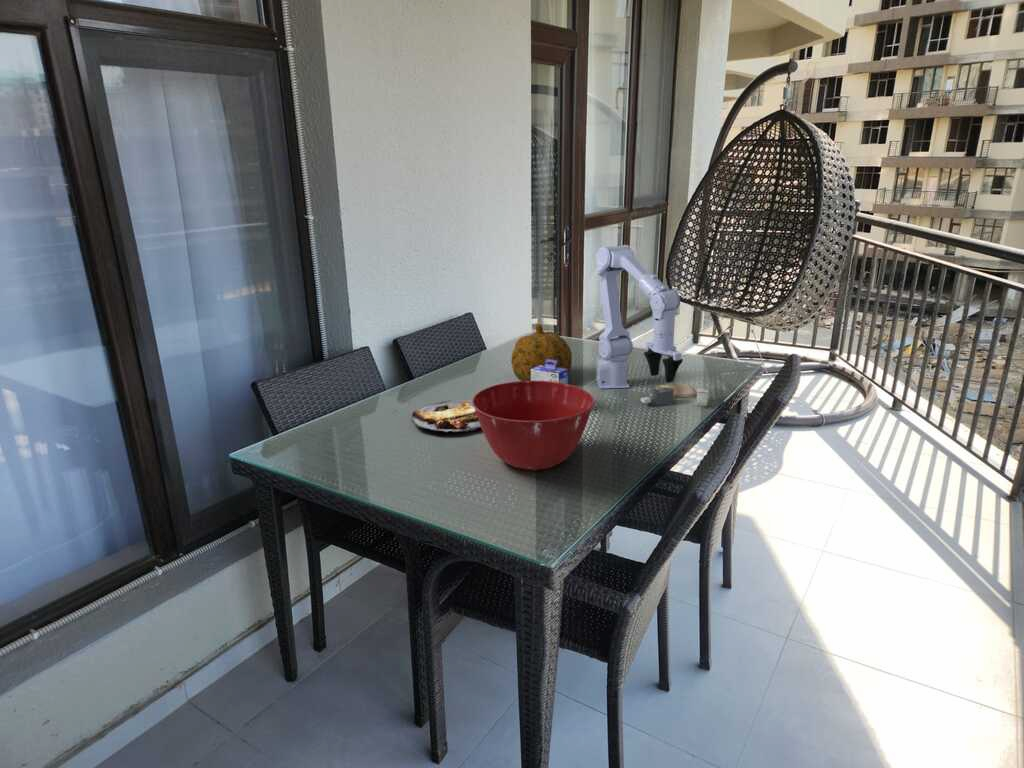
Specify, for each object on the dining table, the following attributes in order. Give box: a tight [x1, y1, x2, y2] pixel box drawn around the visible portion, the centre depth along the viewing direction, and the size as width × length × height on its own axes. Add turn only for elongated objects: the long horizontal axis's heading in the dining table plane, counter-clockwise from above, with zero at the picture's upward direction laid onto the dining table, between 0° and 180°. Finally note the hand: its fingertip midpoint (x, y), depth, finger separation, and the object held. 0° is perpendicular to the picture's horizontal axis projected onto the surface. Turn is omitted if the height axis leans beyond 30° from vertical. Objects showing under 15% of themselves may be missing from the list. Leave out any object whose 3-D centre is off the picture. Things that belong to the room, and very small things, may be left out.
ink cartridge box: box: [531, 359, 569, 384], centre depth 186 cm, size 10×6×14 cm, turn 55°
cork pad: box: [655, 383, 697, 399], centre depth 198 cm, size 10×10×1 cm
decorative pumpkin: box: [510, 323, 573, 381], centre depth 212 cm, size 20×21×20 cm
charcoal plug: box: [640, 388, 675, 407], centre depth 189 cm, size 10×3×4 cm, turn 112°
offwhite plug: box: [695, 387, 709, 408], centre depth 188 cm, size 9×3×4 cm, turn 167°
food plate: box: [410, 399, 482, 434], centre depth 180 cm, size 25×23×4 cm
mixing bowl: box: [471, 380, 595, 471], centre depth 152 cm, size 28×28×15 cm
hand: (661, 378), depth 187 cm, fingers open, 7 cm apart
